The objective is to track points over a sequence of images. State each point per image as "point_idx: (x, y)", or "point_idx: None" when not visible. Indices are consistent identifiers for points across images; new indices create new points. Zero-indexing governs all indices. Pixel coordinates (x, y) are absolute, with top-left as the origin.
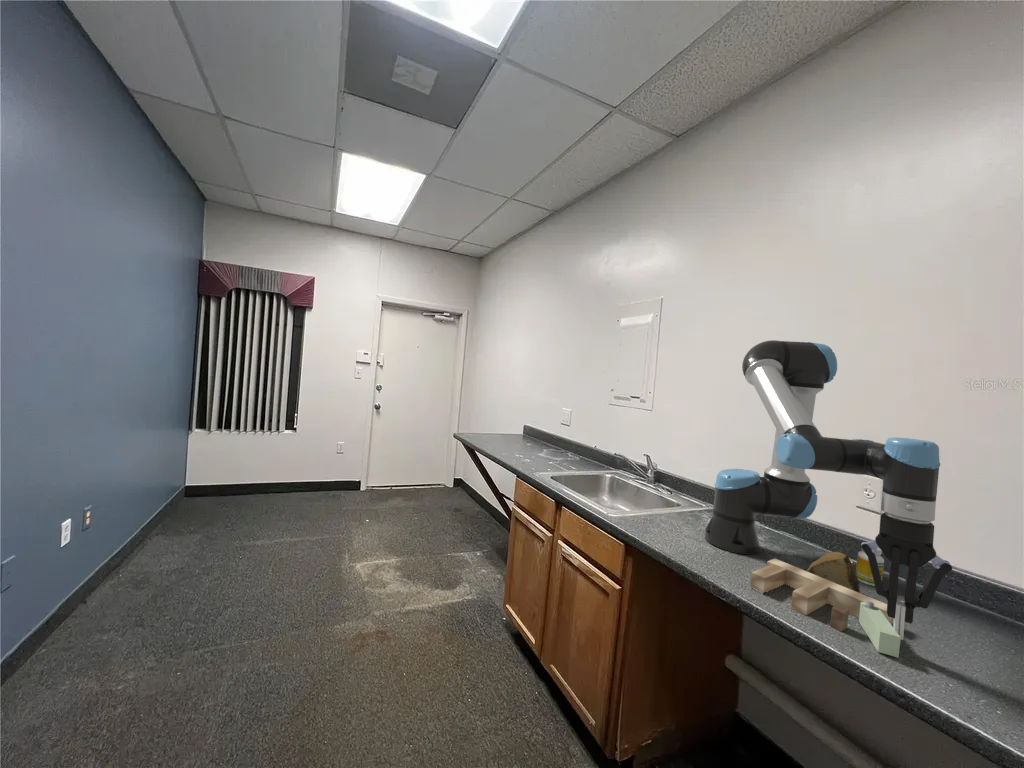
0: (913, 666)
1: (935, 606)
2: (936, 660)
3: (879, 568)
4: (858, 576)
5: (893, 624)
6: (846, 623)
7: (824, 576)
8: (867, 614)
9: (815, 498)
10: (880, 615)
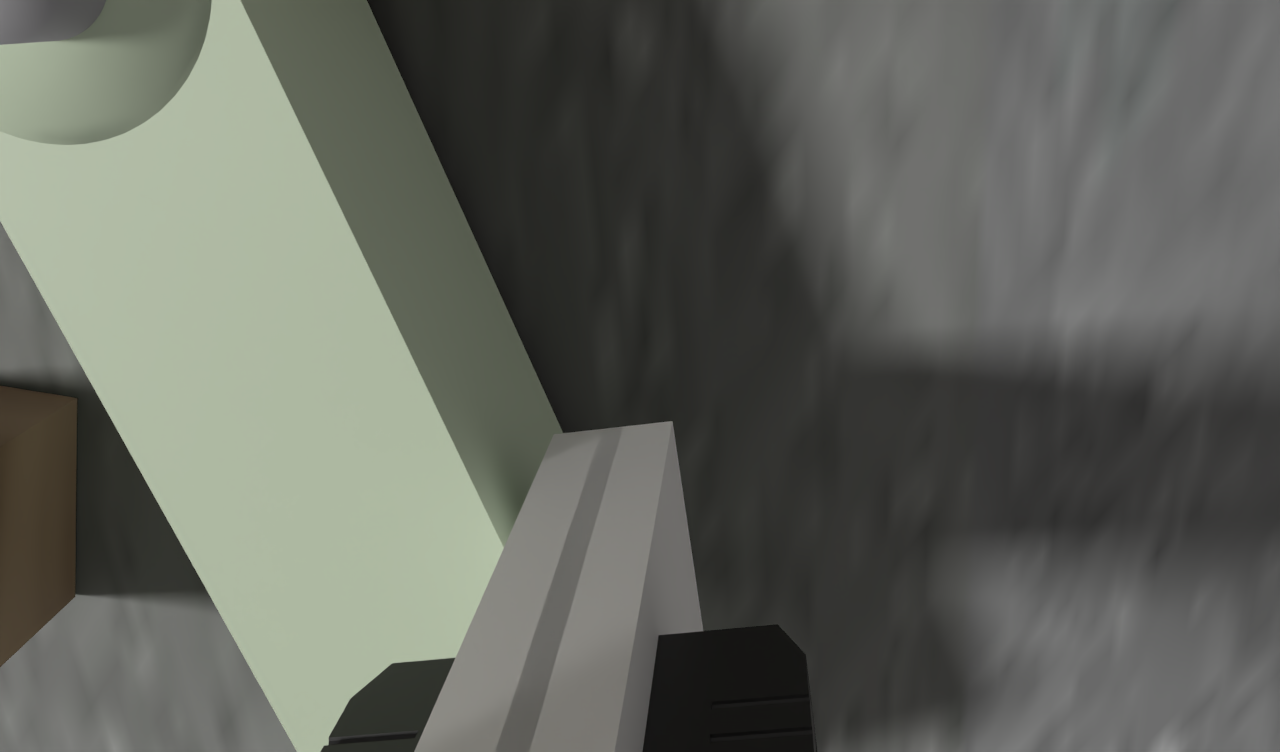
0: (833, 699)
1: None
2: (1078, 236)
3: None
4: None
5: (533, 490)
6: (33, 475)
7: None
8: (135, 433)
9: None
10: (297, 289)
